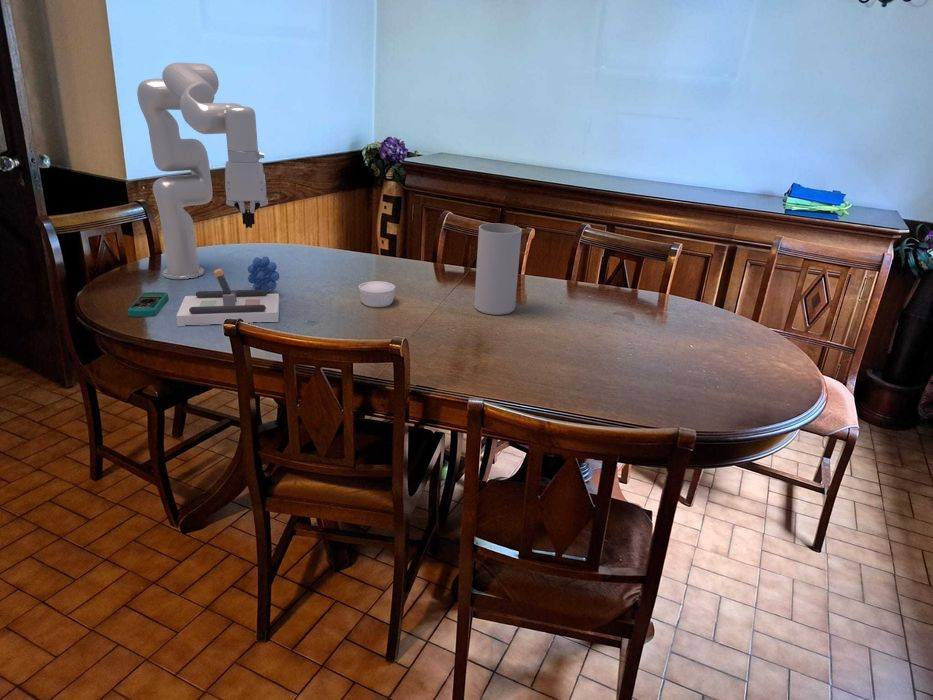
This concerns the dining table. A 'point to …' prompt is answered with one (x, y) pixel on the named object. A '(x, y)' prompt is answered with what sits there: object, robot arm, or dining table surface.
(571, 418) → the dining table surface
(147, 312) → the digital multimeter
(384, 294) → the ramekin
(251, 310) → the pair of dark bars
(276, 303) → the switch base plate
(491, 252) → the cylinder vase
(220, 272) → the breaker lever
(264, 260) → the grapes
